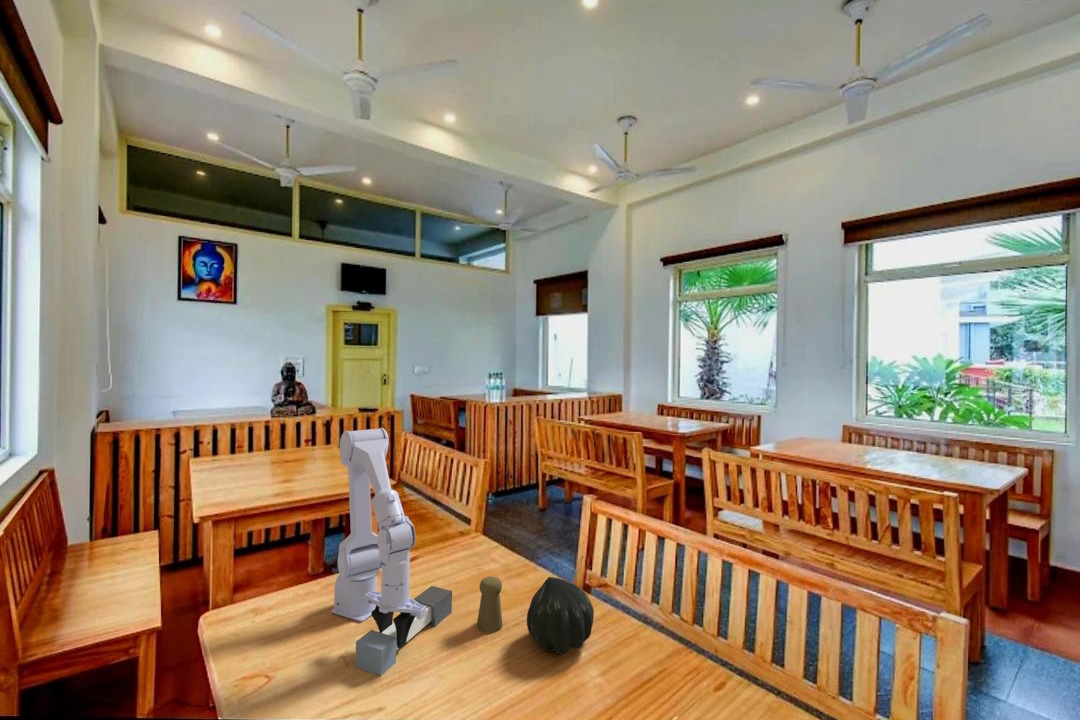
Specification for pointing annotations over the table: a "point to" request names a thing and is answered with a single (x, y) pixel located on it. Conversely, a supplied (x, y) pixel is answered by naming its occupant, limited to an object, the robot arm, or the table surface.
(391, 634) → the long white plank
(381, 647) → the socket
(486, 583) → the olive game pawn
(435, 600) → the metal block
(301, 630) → the table surface
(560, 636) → the squash
